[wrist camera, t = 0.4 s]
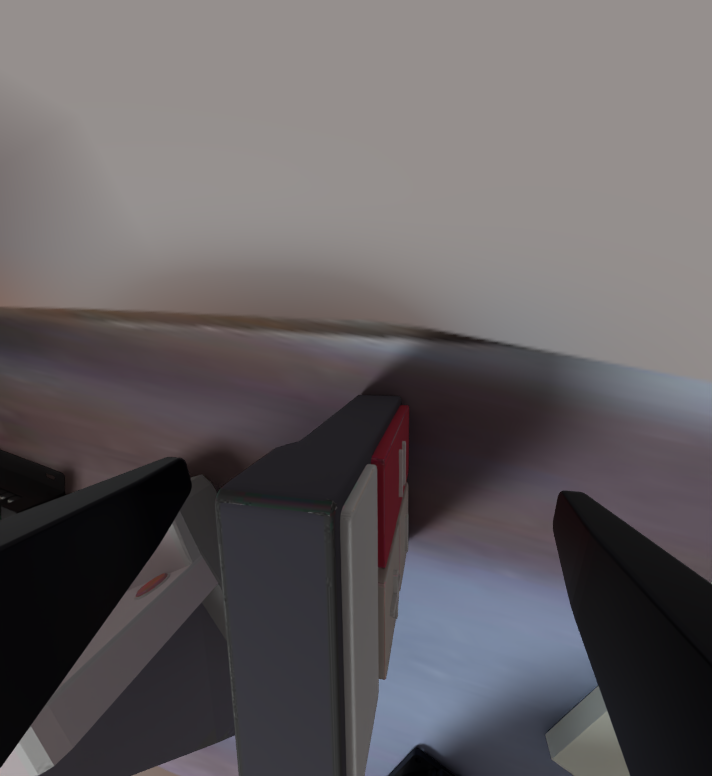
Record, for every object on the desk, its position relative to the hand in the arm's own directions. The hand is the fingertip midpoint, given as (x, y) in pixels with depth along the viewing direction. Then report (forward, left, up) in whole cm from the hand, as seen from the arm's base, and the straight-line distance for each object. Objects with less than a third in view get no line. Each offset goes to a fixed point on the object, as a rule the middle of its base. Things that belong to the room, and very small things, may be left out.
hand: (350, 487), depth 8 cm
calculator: (-6, -2, -15) cm, 17 cm away
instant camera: (-27, +8, -16) cm, 32 cm away
